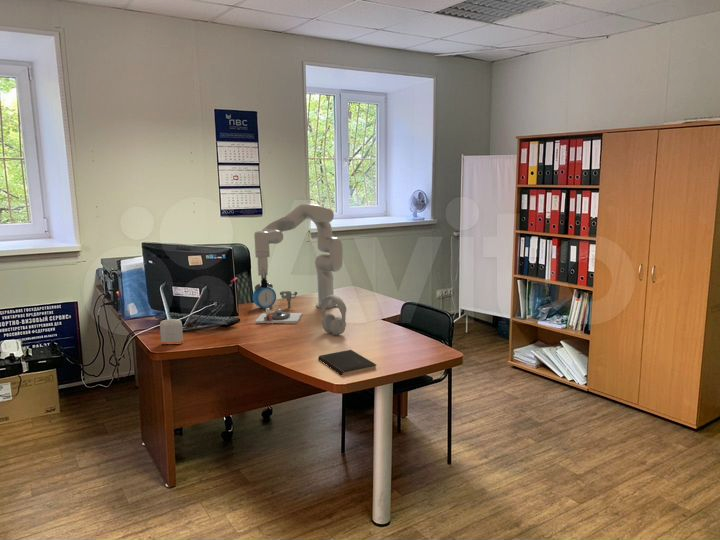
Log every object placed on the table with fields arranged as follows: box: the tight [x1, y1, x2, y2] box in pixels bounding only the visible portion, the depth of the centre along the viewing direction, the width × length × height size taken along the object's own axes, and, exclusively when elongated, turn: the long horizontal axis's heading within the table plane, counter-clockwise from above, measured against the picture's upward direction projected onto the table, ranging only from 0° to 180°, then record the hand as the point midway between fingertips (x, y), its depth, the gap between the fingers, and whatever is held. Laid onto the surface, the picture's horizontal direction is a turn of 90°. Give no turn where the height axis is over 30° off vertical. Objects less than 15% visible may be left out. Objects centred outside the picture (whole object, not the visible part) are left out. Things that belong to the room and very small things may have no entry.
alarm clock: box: [252, 282, 277, 310], centre depth 333 cm, size 13×6×15 cm, turn 125°
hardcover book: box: [317, 349, 378, 376], centre depth 233 cm, size 16×23×2 cm
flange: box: [264, 307, 291, 320], centre depth 304 cm, size 15×12×6 cm
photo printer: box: [159, 318, 184, 343], centre depth 265 cm, size 10×4×12 cm, turn 94°
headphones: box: [320, 294, 347, 336], centre depth 275 cm, size 18×8×20 cm, turn 39°
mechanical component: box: [279, 290, 298, 309], centre depth 332 cm, size 3×10×10 cm, turn 89°
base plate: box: [254, 312, 303, 325], centre depth 306 cm, size 23×17×4 cm
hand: (264, 287), depth 300 cm, fingers closed
